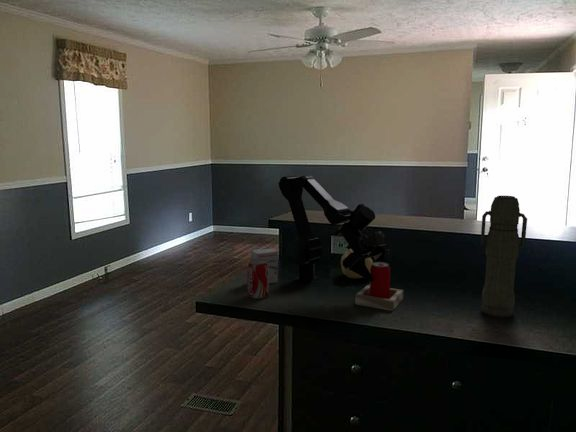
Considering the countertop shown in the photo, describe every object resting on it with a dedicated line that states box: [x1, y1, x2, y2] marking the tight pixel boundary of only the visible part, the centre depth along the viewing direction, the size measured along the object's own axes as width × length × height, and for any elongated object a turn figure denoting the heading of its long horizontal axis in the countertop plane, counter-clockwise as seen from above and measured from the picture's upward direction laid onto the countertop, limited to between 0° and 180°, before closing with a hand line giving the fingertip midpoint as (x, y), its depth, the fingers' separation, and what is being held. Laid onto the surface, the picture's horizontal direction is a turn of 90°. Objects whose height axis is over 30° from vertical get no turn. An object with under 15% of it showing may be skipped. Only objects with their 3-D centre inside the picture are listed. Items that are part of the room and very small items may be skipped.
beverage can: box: [369, 261, 391, 299], centre depth 150 cm, size 6×6×12 cm
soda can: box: [246, 259, 270, 300], centre depth 155 cm, size 7×7×12 cm
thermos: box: [480, 195, 528, 318], centre depth 139 cm, size 9×12×35 cm
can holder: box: [354, 284, 404, 312], centre depth 151 cm, size 12×12×3 cm
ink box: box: [250, 248, 279, 284], centre depth 170 cm, size 9×5×12 cm, turn 117°
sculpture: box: [340, 249, 374, 279], centre depth 177 cm, size 12×12×11 cm
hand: (381, 277), depth 149 cm, fingers open, 9 cm apart
